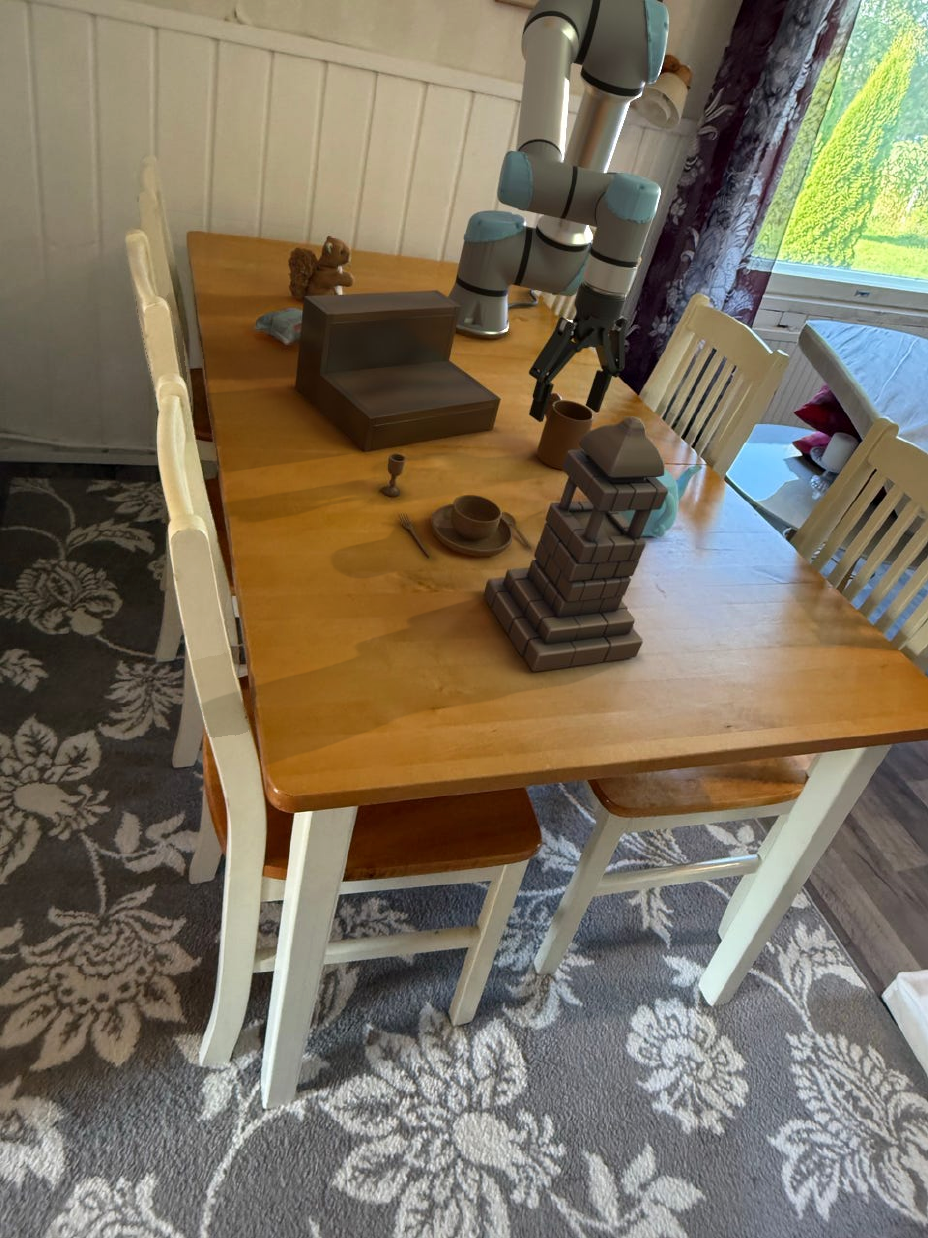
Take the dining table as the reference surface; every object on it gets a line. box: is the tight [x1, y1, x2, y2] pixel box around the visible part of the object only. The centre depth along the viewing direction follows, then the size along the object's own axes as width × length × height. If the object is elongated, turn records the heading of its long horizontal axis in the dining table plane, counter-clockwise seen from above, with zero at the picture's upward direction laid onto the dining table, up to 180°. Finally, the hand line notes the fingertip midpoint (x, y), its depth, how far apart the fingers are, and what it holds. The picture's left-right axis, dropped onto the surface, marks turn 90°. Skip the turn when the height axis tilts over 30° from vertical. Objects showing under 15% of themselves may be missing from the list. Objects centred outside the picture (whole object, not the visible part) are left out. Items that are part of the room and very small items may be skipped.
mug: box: [536, 392, 595, 471], centre depth 146 cm, size 12×8×9 cm, turn 21°
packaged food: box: [254, 307, 303, 346], centre depth 160 cm, size 9×12×5 cm
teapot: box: [619, 465, 703, 538], centre depth 133 cm, size 13×14×11 cm
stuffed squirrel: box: [287, 235, 355, 303], centre depth 175 cm, size 10×14×13 cm
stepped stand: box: [294, 289, 502, 453], centre depth 144 cm, size 22×27×16 cm
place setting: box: [381, 452, 532, 558], centre depth 123 cm, size 18×20×6 cm
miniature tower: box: [482, 416, 668, 672], centre depth 102 cm, size 16×15×30 cm
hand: (564, 413), depth 144 cm, fingers open, 13 cm apart
